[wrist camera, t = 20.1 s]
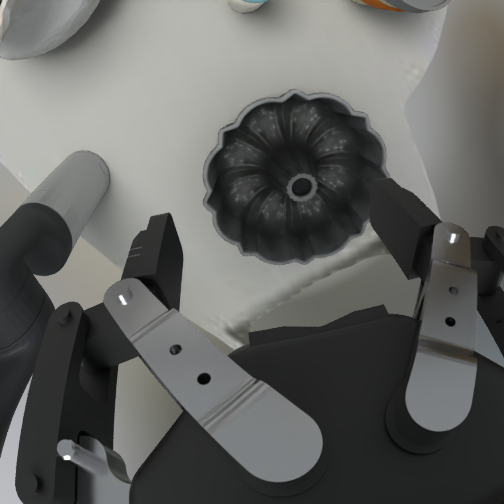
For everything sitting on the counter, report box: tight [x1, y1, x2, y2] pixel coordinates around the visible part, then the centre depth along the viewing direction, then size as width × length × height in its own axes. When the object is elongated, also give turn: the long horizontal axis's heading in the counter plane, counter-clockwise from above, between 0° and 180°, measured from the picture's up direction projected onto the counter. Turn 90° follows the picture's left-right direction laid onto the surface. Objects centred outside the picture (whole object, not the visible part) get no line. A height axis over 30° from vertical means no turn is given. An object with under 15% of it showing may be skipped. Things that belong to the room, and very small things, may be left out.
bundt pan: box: [203, 89, 390, 265], centre depth 45 cm, size 26×26×10 cm
